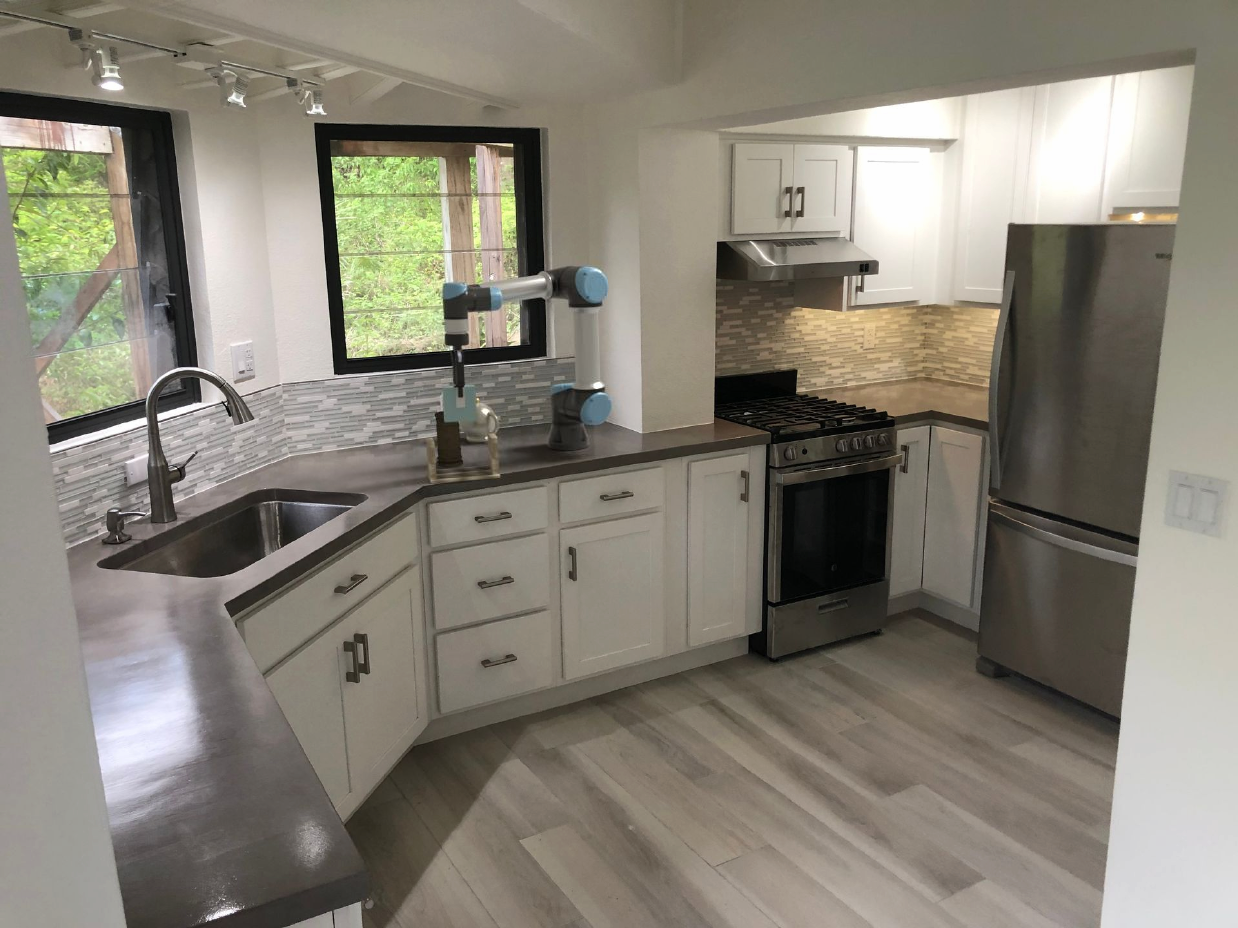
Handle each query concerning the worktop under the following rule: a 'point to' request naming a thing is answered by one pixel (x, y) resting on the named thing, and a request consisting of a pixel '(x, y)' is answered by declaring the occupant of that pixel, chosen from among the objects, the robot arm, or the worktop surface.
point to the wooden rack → (466, 472)
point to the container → (448, 442)
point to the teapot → (480, 424)
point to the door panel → (459, 413)
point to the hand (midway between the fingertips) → (459, 406)
